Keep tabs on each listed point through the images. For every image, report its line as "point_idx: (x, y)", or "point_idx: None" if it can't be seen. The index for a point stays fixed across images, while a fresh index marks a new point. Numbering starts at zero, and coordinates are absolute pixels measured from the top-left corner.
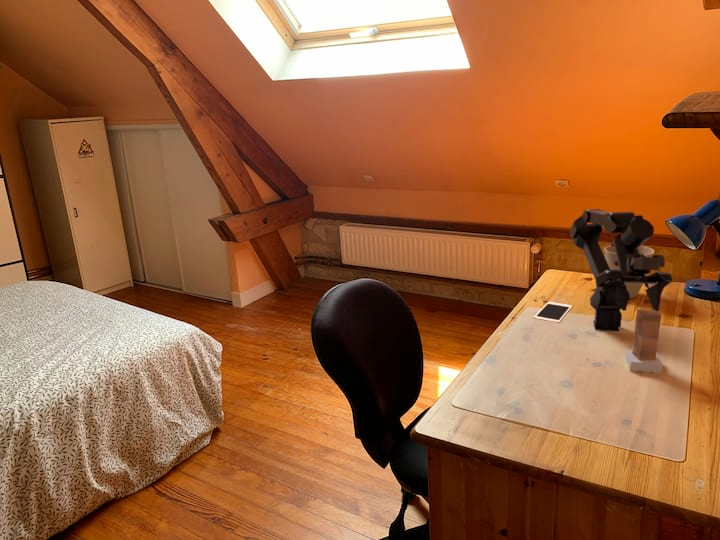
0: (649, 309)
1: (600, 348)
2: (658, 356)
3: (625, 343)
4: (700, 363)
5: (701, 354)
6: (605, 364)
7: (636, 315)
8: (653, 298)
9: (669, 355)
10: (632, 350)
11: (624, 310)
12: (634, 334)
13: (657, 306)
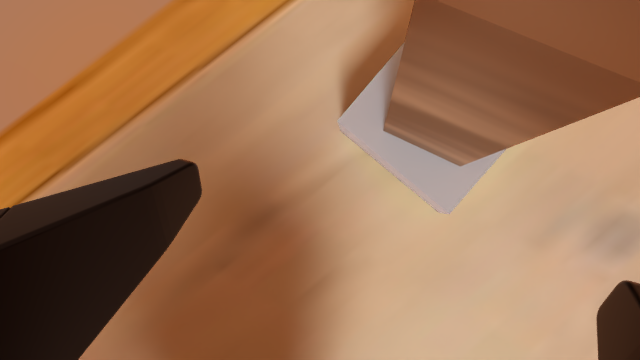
0: (484, 5)
1: (458, 354)
2: (371, 81)
3: (304, 329)
4: (202, 31)
5: (126, 86)
6: (578, 213)
7: (595, 113)
8: (71, 285)
9: (242, 140)
10: (430, 190)
11: (611, 302)
12: (500, 149)
13: (164, 173)
